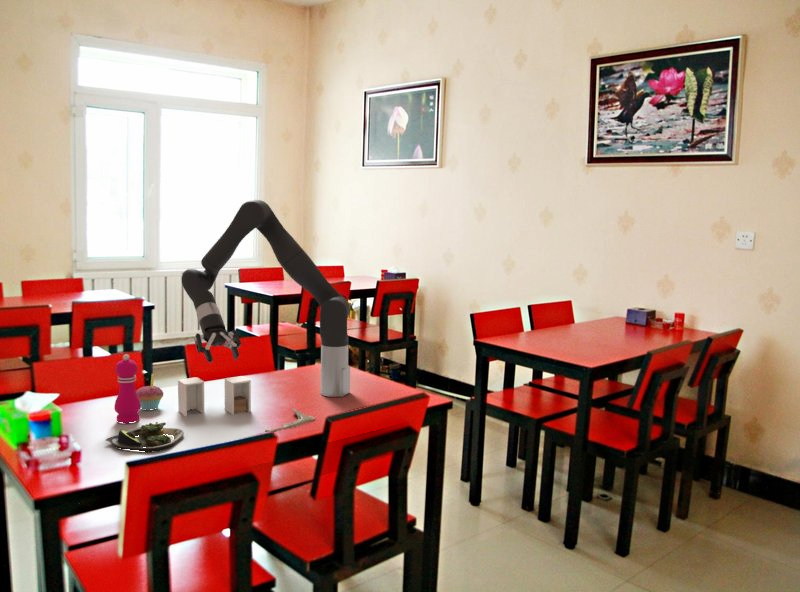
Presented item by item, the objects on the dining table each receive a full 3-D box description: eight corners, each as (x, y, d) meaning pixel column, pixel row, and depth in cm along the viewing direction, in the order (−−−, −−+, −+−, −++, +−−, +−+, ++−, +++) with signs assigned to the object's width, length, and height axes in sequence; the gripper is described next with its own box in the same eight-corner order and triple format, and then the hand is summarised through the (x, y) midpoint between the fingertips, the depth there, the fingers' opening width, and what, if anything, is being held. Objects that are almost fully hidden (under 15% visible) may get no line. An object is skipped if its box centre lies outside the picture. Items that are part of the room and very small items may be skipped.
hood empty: (178, 411, 214) (177, 379, 212) (197, 408, 217) (196, 377, 216) (185, 416, 209) (184, 384, 207) (204, 413, 212) (204, 381, 211)
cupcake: (169, 407, 217) (168, 369, 216) (149, 414, 210) (148, 376, 208) (149, 403, 221) (148, 366, 219) (128, 410, 213) (127, 372, 212)
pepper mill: (146, 418, 206) (144, 353, 203) (129, 426, 199) (127, 358, 196) (126, 415, 208) (124, 350, 205) (109, 422, 201) (107, 355, 198)
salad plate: (138, 426, 200) (138, 410, 199) (196, 431, 197) (196, 416, 197) (98, 449, 181) (98, 433, 181) (161, 456, 178) (161, 438, 178)
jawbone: (319, 419, 213) (320, 412, 213) (292, 442, 193) (293, 435, 193) (293, 413, 215) (293, 407, 215) (263, 435, 196) (263, 428, 195)
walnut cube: (229, 410, 216) (229, 397, 216) (241, 408, 219) (241, 395, 218) (234, 413, 213) (234, 401, 212) (246, 411, 215) (246, 399, 215)
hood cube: (224, 409, 216) (224, 378, 215) (242, 406, 220) (242, 375, 219) (232, 414, 212) (232, 382, 210) (250, 411, 215) (250, 380, 214)
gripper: (191, 314, 223) (205, 356, 216) (233, 311, 231) (248, 351, 224) (186, 327, 228) (199, 369, 221) (227, 324, 236) (241, 363, 229)
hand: (224, 360), depth 222 cm, fingers open, 8 cm apart
